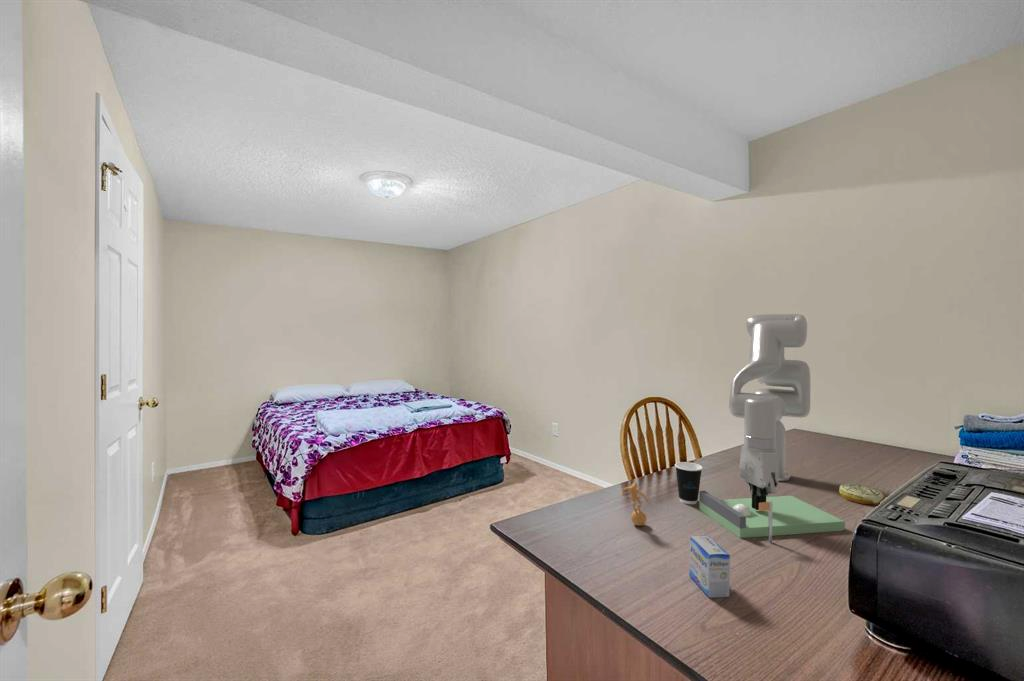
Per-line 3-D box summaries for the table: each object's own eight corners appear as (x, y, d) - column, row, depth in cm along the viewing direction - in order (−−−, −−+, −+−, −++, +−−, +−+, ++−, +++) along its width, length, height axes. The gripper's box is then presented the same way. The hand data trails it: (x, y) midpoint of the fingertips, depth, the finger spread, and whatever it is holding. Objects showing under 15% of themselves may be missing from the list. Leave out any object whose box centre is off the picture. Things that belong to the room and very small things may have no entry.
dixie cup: (689, 495, 138) (689, 460, 138) (708, 504, 130) (708, 468, 130) (668, 498, 135) (669, 463, 135) (687, 508, 128) (687, 471, 127)
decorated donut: (885, 509, 127) (885, 497, 127) (839, 501, 133) (839, 489, 133) (881, 498, 135) (881, 486, 135) (838, 491, 142) (838, 479, 142)
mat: (699, 509, 127) (699, 490, 127) (791, 503, 131) (791, 485, 131) (739, 538, 109) (740, 516, 109) (844, 530, 113) (845, 510, 113)
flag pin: (757, 542, 107) (758, 502, 107) (770, 541, 107) (770, 501, 107) (759, 543, 106) (760, 503, 106) (772, 542, 107) (773, 502, 106)
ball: (743, 508, 121) (733, 520, 121) (736, 497, 120) (725, 509, 119) (757, 515, 117) (746, 527, 116) (749, 504, 116) (738, 516, 115)
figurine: (656, 528, 115) (656, 483, 114) (644, 535, 111) (644, 488, 110) (629, 518, 121) (629, 475, 121) (616, 524, 117) (617, 480, 117)
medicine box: (688, 576, 92) (688, 535, 92) (708, 575, 93) (708, 534, 92) (708, 598, 84) (708, 554, 84) (730, 597, 85) (730, 553, 84)
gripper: (729, 436, 126) (729, 499, 126) (766, 450, 111) (766, 521, 112) (753, 435, 127) (752, 497, 127) (793, 449, 112) (792, 519, 113)
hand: (758, 508), depth 119 cm, fingers closed
